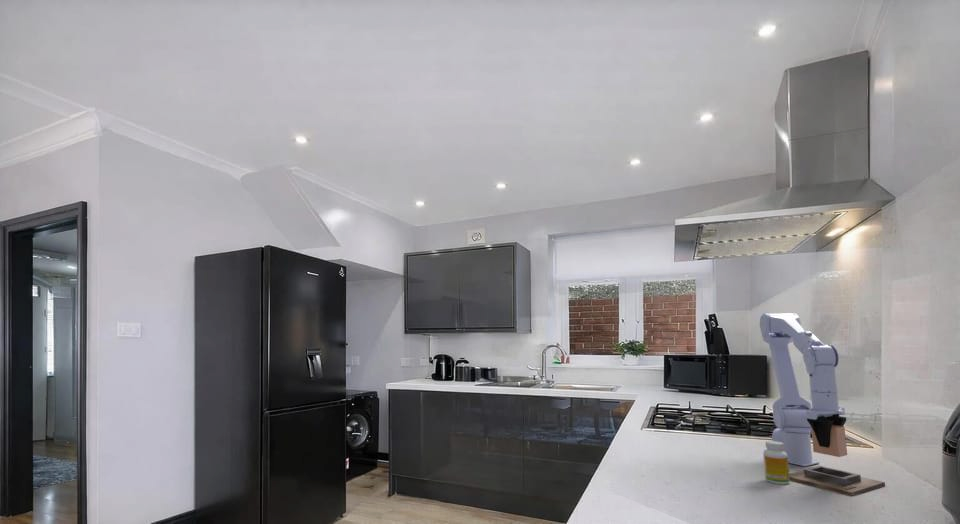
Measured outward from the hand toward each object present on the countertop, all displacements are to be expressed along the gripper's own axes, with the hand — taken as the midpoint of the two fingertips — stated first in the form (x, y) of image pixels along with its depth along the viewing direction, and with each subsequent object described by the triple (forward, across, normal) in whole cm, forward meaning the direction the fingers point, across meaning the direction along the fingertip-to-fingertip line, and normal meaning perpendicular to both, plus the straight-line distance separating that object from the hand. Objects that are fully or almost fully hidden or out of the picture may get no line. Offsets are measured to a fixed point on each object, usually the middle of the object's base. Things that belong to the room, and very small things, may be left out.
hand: (829, 445), depth 127 cm
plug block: (+2, 0, 0) cm, 2 cm away
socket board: (+9, 0, 0) cm, 9 cm away
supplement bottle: (+9, -12, +7) cm, 17 cm away
